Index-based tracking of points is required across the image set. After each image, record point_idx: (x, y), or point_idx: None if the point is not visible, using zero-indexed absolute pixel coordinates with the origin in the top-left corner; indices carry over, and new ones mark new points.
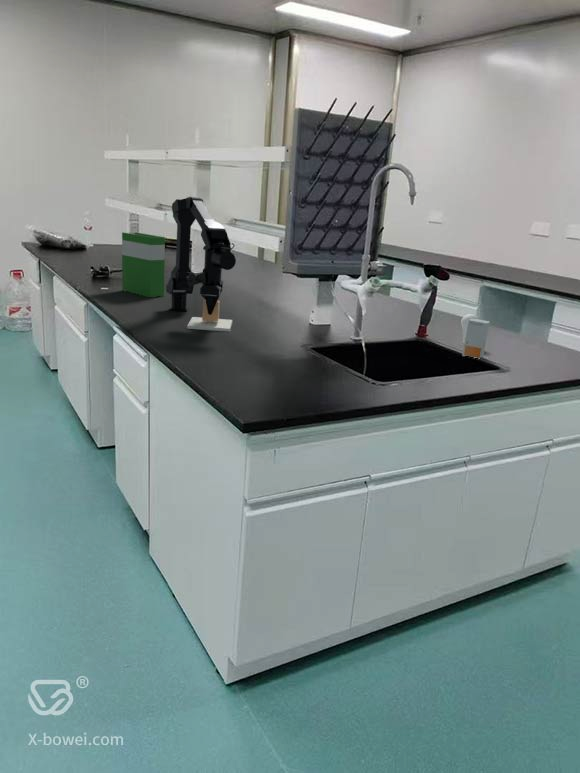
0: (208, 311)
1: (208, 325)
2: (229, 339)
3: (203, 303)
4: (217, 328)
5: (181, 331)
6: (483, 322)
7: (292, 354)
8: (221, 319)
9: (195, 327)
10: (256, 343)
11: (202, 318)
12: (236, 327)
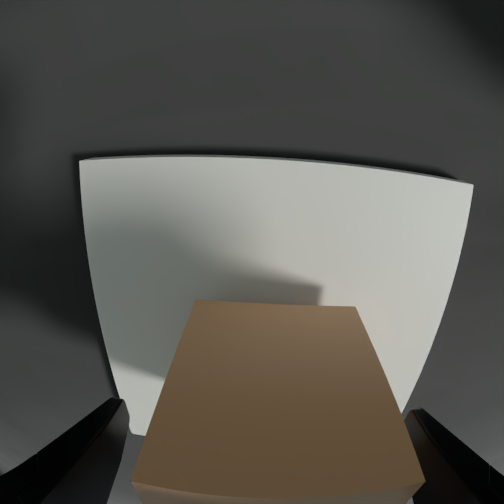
0: (91, 418)
1: (154, 334)
2: (9, 387)
3: (143, 456)
4: (116, 379)
5: (11, 137)
6: None
7: (6, 469)
8: (398, 400)
9: (91, 230)
10: (28, 446)
11: (192, 313)
12: None
